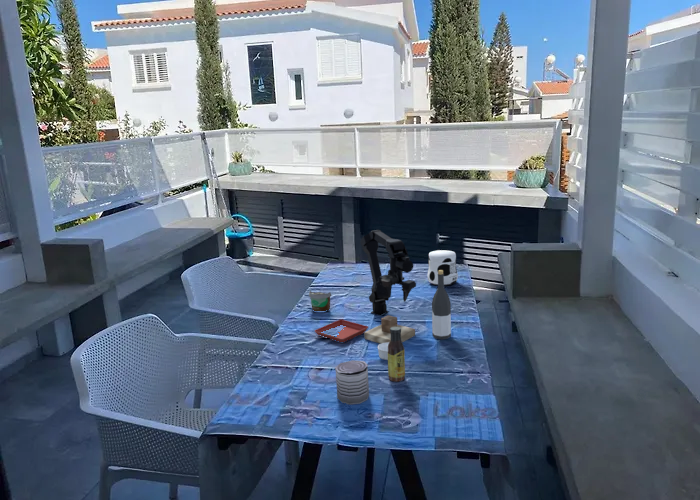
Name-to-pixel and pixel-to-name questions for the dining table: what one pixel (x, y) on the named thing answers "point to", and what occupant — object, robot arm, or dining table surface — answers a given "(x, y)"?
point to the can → (352, 382)
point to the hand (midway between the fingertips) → (396, 299)
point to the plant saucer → (347, 333)
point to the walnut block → (388, 323)
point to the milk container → (442, 267)
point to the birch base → (388, 334)
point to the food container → (320, 301)
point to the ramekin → (383, 350)
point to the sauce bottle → (396, 356)
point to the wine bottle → (441, 311)
